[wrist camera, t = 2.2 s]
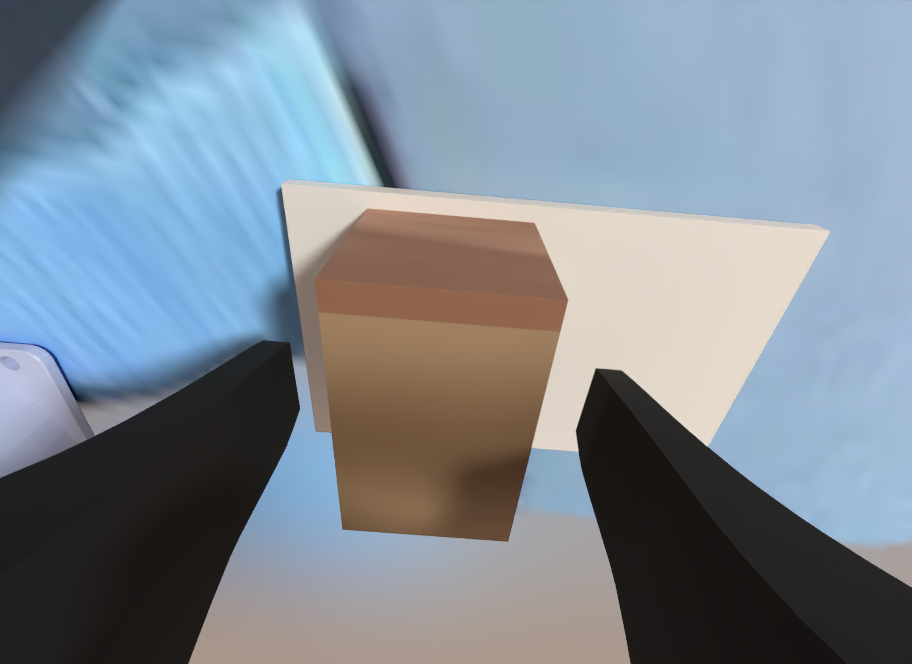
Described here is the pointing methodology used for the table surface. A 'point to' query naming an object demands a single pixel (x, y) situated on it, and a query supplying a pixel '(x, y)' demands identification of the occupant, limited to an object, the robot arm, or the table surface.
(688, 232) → the beige board
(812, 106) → the table surface
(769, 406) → the table surface
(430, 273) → the walnut block
